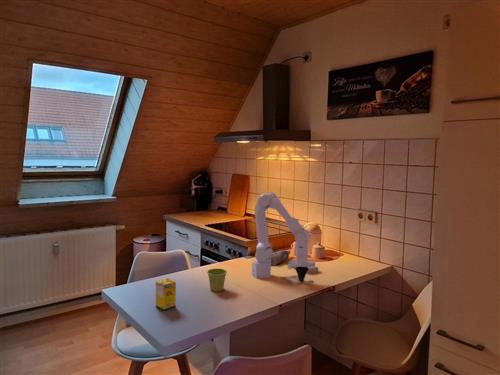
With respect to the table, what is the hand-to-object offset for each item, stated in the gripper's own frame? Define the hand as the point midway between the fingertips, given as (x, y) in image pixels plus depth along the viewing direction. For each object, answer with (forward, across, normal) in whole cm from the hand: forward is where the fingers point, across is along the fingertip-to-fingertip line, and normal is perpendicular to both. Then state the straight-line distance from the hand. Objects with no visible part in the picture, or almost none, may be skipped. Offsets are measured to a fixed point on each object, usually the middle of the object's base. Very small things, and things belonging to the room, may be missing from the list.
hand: (301, 281), depth 187 cm
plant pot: (+1, -41, +8) cm, 42 cm away
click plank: (+1, 0, +2) cm, 3 cm away
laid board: (+2, 0, +8) cm, 8 cm away
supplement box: (+1, -67, -4) cm, 67 cm away
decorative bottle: (+2, +8, +37) cm, 38 cm away
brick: (+2, +12, +18) cm, 22 cm away
